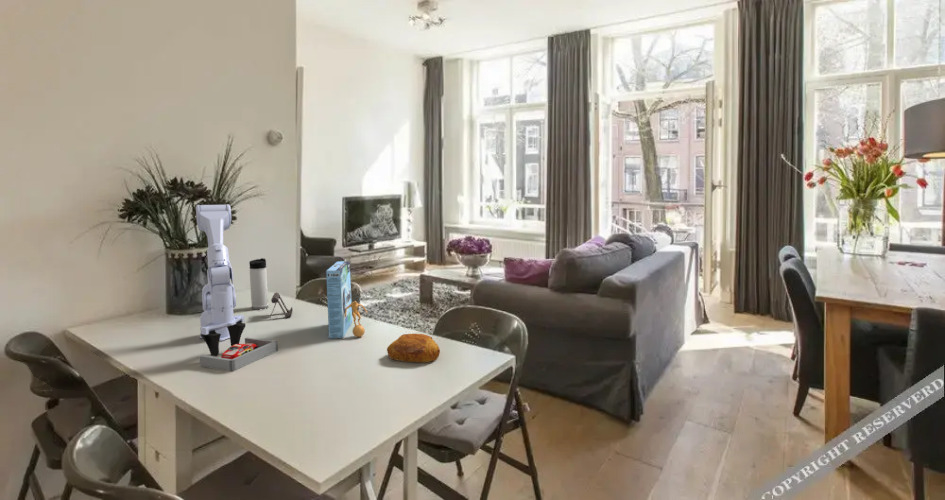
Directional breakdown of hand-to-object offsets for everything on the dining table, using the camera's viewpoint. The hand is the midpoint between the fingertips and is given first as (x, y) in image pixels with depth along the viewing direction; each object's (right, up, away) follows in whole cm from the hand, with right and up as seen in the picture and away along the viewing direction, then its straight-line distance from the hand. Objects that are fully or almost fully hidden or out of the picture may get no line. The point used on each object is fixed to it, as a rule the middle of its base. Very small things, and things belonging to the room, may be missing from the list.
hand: (225, 351), depth 149 cm
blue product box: (+28, +2, +27) cm, 38 cm away
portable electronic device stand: (0, +4, +44) cm, 45 cm away
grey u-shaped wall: (+5, -2, -2) cm, 6 cm away
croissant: (+56, -2, +1) cm, 56 cm away
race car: (+5, -2, 0) cm, 5 cm away
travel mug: (-13, +6, +56) cm, 58 cm away
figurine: (+35, +1, +20) cm, 40 cm away
